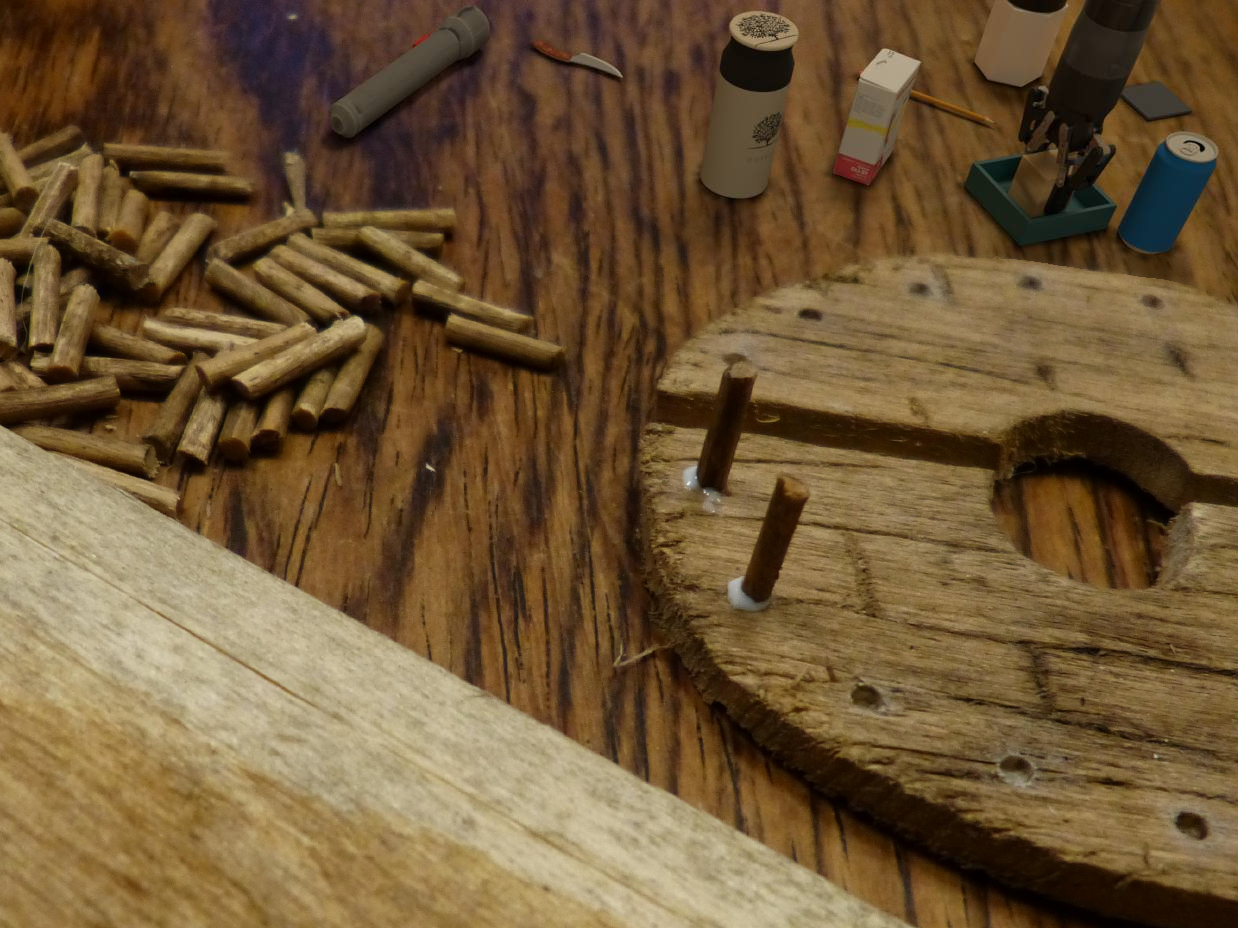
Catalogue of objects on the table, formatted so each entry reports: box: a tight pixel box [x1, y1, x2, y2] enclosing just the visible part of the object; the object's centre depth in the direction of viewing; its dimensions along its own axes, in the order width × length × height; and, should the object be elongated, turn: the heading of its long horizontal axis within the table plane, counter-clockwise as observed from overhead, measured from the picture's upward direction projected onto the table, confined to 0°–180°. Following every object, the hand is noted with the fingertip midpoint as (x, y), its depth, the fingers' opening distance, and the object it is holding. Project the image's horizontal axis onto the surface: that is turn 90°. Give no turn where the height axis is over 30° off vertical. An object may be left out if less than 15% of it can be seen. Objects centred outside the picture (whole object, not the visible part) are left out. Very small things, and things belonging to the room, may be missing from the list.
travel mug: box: [700, 10, 800, 199], centre depth 142 cm, size 8×8×18 cm
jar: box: [973, 0, 1069, 88], centre depth 163 cm, size 9×8×12 cm
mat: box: [1120, 81, 1193, 121], centre depth 166 cm, size 7×7×1 cm
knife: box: [532, 39, 624, 79], centre depth 162 cm, size 13×1×3 cm
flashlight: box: [328, 5, 491, 139], centre depth 154 cm, size 5×28×5 cm
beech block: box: [1007, 149, 1075, 218], centre depth 148 cm, size 5×5×5 cm
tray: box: [963, 146, 1118, 247], centre depth 149 cm, size 12×12×3 cm
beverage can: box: [1117, 131, 1219, 255], centre depth 143 cm, size 6×6×12 cm
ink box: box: [832, 48, 922, 186], centre depth 149 cm, size 9×5×12 cm, turn 151°
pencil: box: [857, 70, 997, 125], centre depth 162 cm, size 19×1×1 cm, turn 58°
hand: (1038, 197), depth 150 cm, fingers closed on beech block, 5 cm apart
